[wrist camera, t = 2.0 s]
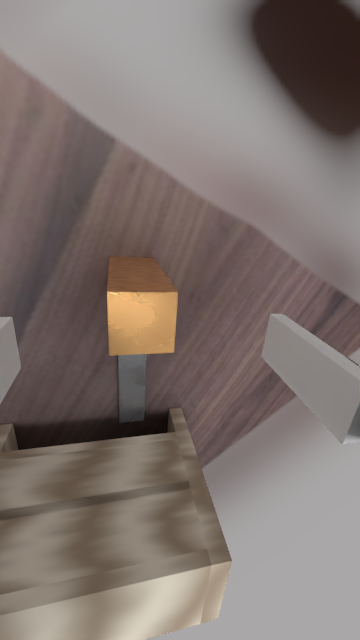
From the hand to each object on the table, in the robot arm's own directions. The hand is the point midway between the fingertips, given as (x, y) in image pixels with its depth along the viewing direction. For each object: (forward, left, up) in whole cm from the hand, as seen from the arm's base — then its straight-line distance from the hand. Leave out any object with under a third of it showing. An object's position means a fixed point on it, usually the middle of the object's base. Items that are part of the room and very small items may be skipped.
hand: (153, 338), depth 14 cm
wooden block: (0, -7, -13) cm, 15 cm away
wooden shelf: (-4, -20, -13) cm, 24 cm away
